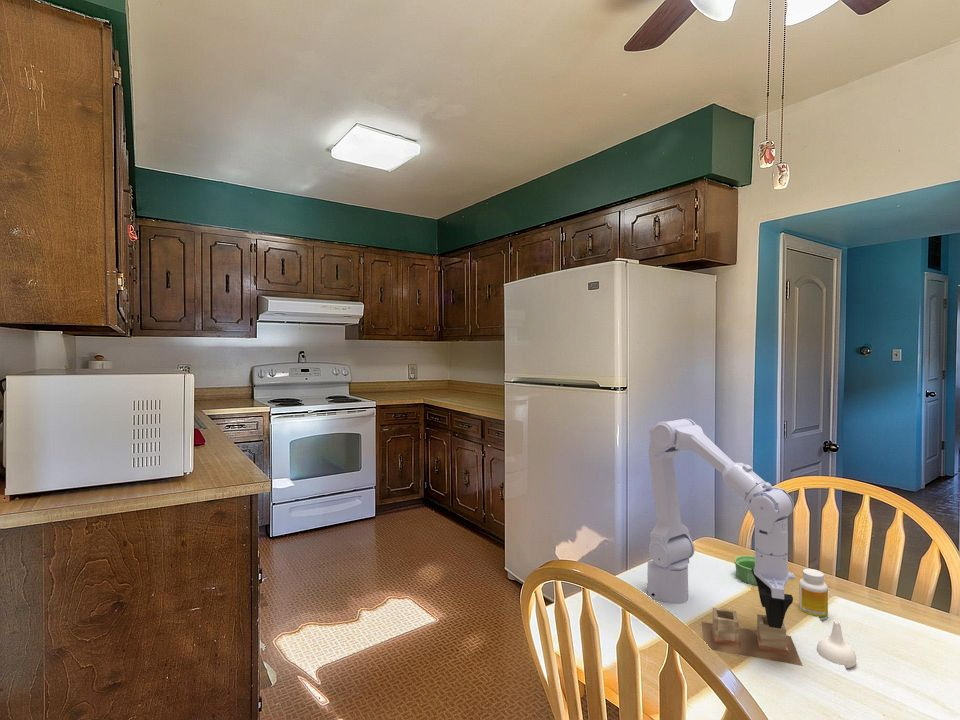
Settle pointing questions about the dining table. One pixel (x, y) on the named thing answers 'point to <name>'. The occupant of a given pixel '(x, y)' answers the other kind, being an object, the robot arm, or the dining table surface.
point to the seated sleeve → (725, 627)
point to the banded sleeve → (770, 637)
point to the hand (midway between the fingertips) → (771, 616)
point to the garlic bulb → (837, 648)
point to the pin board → (751, 646)
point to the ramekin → (745, 568)
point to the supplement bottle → (813, 594)
